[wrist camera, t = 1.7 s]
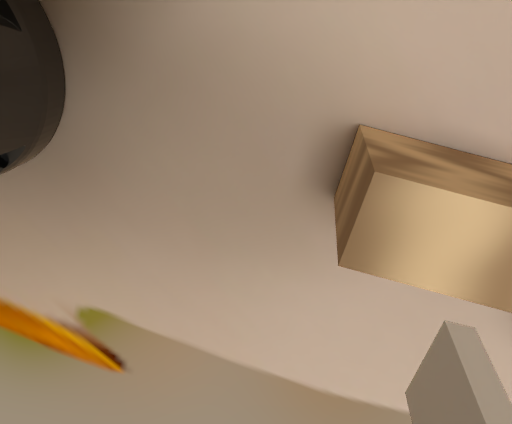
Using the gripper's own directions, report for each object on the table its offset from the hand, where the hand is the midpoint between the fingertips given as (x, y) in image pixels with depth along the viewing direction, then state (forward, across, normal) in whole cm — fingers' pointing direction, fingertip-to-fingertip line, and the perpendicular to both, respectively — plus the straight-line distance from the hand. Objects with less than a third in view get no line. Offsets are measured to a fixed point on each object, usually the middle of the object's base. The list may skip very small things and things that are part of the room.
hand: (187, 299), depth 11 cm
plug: (+16, +15, -1) cm, 22 cm away
